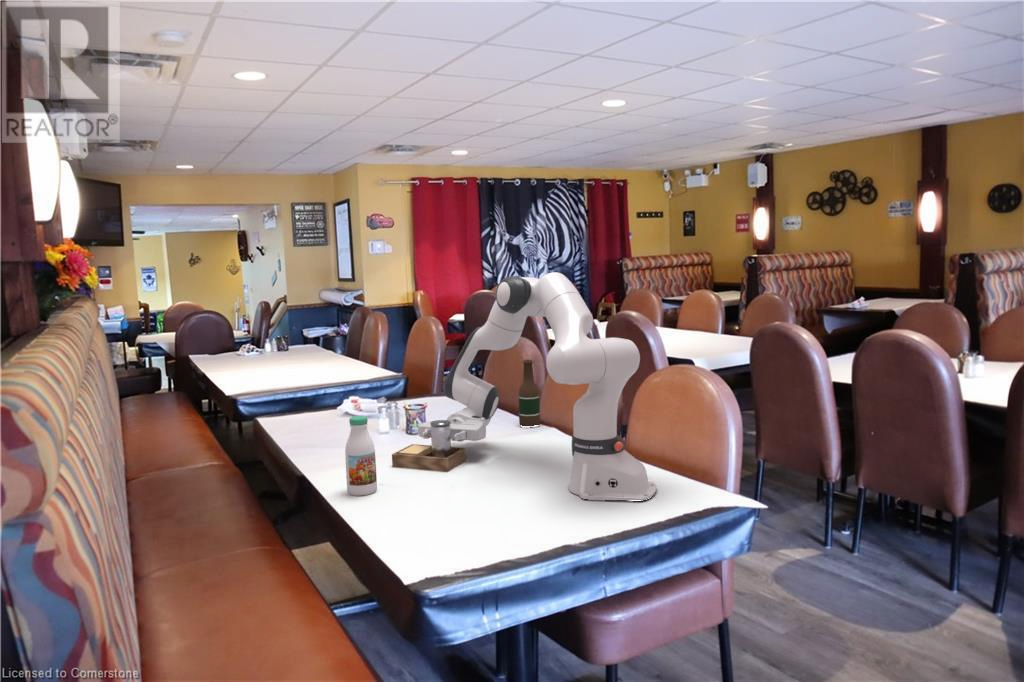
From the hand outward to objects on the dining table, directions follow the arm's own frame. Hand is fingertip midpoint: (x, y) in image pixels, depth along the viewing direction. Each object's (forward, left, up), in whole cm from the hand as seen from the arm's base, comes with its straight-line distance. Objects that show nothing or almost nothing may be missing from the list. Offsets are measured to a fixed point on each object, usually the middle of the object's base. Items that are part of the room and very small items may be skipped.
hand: (439, 437), depth 207 cm
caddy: (+4, -1, -9) cm, 10 cm away
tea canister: (0, -1, -8) cm, 8 cm away
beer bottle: (-7, -56, -9) cm, 58 cm away
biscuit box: (+8, -1, -8) cm, 12 cm away
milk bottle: (+10, +25, -9) cm, 29 cm away
